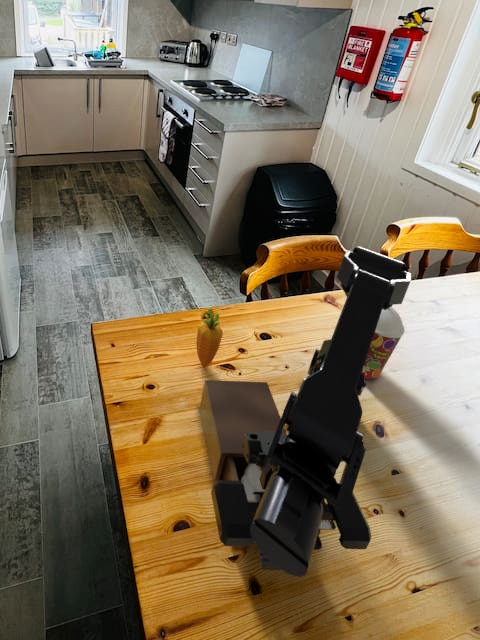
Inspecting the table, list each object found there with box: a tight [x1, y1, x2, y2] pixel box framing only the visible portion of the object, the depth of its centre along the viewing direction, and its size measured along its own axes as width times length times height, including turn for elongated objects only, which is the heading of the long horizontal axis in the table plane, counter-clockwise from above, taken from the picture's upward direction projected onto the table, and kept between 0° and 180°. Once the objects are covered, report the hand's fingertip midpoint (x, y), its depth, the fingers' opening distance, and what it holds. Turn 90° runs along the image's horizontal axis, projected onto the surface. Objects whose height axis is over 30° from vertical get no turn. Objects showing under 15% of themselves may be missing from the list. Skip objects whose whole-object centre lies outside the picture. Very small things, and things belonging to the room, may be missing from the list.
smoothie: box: [362, 306, 406, 380], centre depth 83 cm, size 8×8×20 cm
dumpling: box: [241, 464, 265, 494], centre depth 61 cm, size 7×5×4 cm
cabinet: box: [198, 379, 288, 484], centre depth 68 cm, size 13×12×8 cm
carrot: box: [195, 306, 224, 368], centre depth 82 cm, size 5×5×15 cm
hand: (274, 547), depth 54 cm, fingers closed
